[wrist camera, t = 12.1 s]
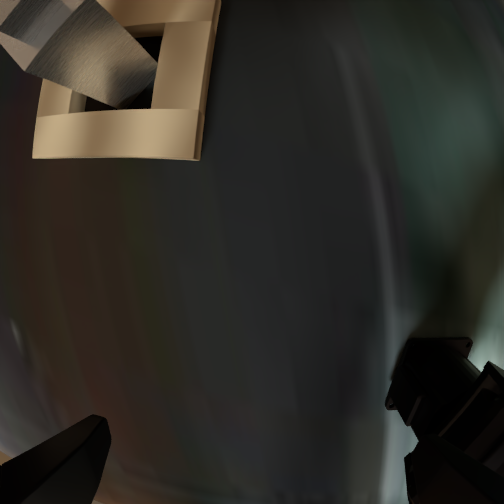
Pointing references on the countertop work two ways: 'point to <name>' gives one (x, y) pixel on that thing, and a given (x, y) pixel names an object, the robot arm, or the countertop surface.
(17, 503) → the robot arm
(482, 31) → the countertop surface
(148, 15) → the socket block
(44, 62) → the square bit
